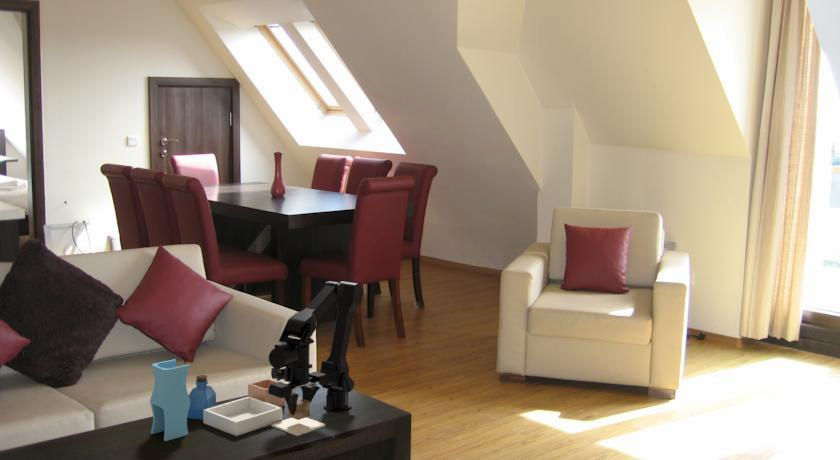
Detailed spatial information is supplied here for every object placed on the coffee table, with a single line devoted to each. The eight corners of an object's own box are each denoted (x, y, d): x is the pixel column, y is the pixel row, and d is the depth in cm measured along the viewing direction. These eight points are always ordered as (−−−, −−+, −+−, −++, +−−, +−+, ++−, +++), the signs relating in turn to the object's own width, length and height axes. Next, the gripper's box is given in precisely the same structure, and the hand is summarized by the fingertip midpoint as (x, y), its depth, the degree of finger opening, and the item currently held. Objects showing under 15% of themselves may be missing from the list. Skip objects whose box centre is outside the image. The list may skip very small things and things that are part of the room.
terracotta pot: (267, 399, 276) (268, 378, 275) (284, 405, 271) (285, 384, 270) (247, 405, 270) (248, 384, 269) (264, 412, 265) (265, 389, 264)
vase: (190, 434, 245) (190, 365, 242) (165, 441, 239) (164, 370, 237) (175, 426, 250) (174, 359, 248) (150, 433, 245) (149, 364, 242)
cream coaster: (299, 416, 262) (299, 414, 261) (325, 426, 255) (325, 424, 255) (271, 426, 253) (271, 424, 253) (297, 435, 246) (297, 433, 246)
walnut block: (299, 412, 257) (299, 397, 256) (309, 416, 254) (310, 401, 253) (287, 416, 253) (287, 401, 253) (298, 419, 250) (298, 404, 250)
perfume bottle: (206, 420, 257) (206, 380, 255) (187, 418, 258) (187, 378, 256) (215, 413, 263) (215, 374, 261) (196, 411, 264) (196, 372, 262)
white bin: (249, 408, 267) (249, 396, 266) (282, 421, 258) (282, 408, 257) (203, 422, 254) (203, 409, 253) (236, 436, 245) (236, 422, 244)
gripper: (304, 349, 264) (303, 398, 266) (255, 361, 249) (255, 414, 251) (330, 356, 257) (329, 407, 259) (281, 369, 242) (281, 423, 244)
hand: (298, 412), depth 253 cm, fingers closed on walnut block, 4 cm apart
